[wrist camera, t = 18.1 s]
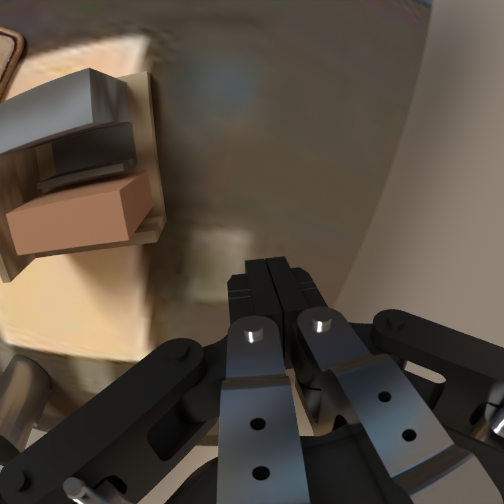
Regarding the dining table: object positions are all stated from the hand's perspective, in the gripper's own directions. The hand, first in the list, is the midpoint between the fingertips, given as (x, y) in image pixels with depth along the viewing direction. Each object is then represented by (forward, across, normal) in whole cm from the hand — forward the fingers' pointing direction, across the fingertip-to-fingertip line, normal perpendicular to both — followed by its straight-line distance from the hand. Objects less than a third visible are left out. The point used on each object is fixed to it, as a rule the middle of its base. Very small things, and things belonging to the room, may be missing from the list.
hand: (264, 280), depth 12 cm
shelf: (+23, +16, -4) cm, 28 cm away
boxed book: (+22, +15, 0) cm, 26 cm away
